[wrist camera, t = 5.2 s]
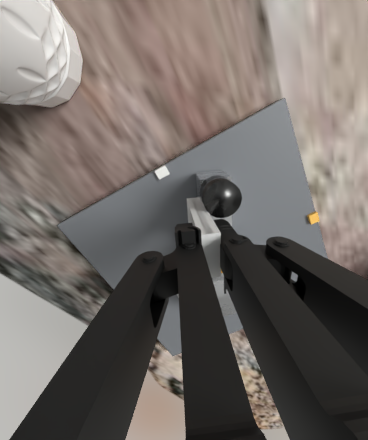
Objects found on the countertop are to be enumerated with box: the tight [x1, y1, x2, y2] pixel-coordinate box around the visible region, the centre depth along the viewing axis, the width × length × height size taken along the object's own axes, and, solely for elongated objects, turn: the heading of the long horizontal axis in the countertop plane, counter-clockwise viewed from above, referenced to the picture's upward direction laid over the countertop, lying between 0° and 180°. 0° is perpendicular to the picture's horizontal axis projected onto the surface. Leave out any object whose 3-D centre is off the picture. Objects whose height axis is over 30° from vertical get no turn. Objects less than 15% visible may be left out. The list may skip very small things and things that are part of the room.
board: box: [57, 98, 328, 356], centre depth 21 cm, size 22×22×2 cm
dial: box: [177, 170, 242, 316], centre depth 17 cm, size 14×8×5 cm, turn 6°
